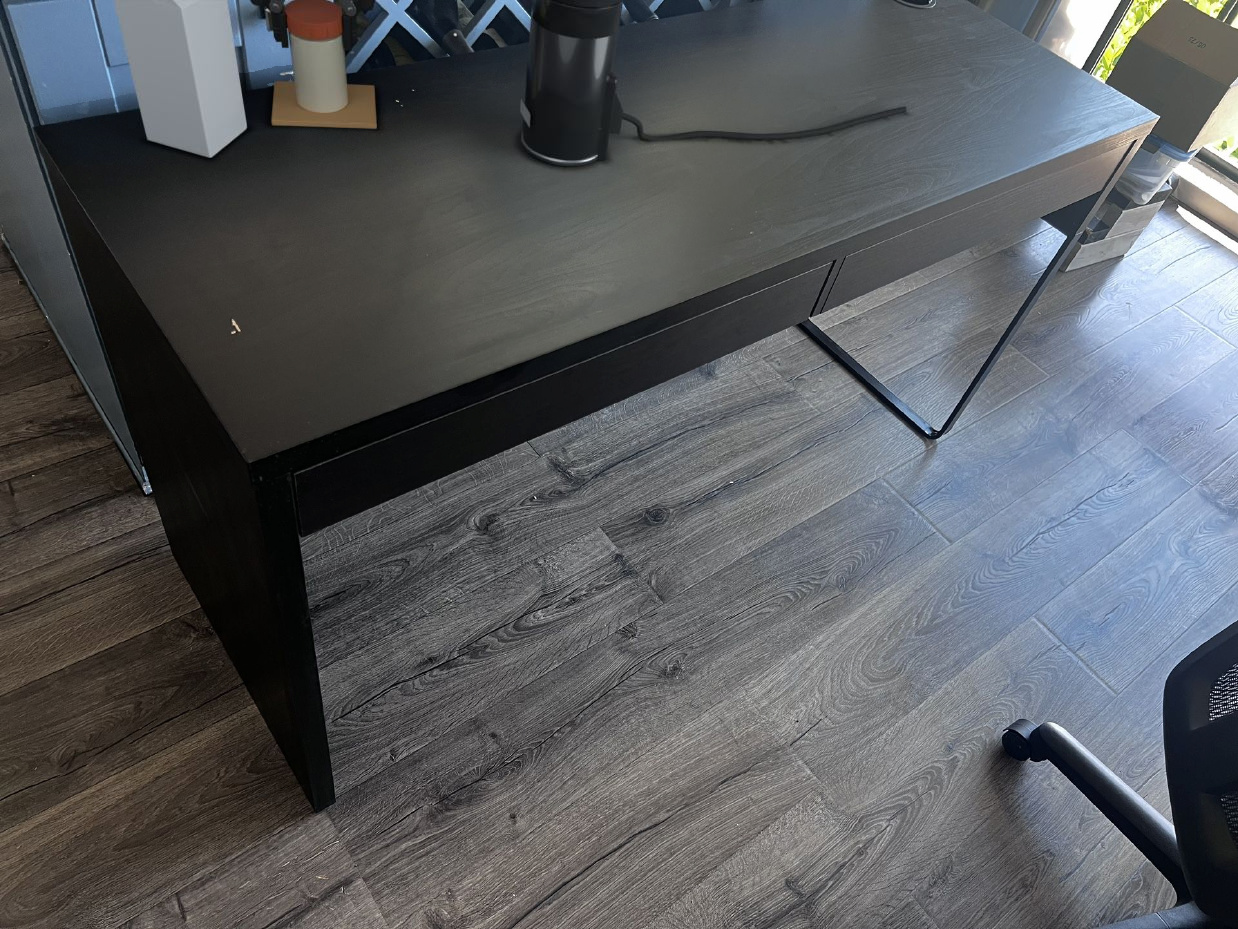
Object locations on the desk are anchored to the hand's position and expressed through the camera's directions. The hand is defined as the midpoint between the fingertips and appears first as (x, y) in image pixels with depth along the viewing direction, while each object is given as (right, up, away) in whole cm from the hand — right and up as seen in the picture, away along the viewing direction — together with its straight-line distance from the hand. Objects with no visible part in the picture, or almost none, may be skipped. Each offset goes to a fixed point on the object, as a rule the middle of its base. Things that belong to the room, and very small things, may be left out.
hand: (316, 45), depth 100 cm
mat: (-1, -5, +5) cm, 7 cm away
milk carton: (-12, -11, -2) cm, 16 cm away
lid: (0, +2, -2) cm, 3 cm away
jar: (-1, -4, +5) cm, 6 cm away
